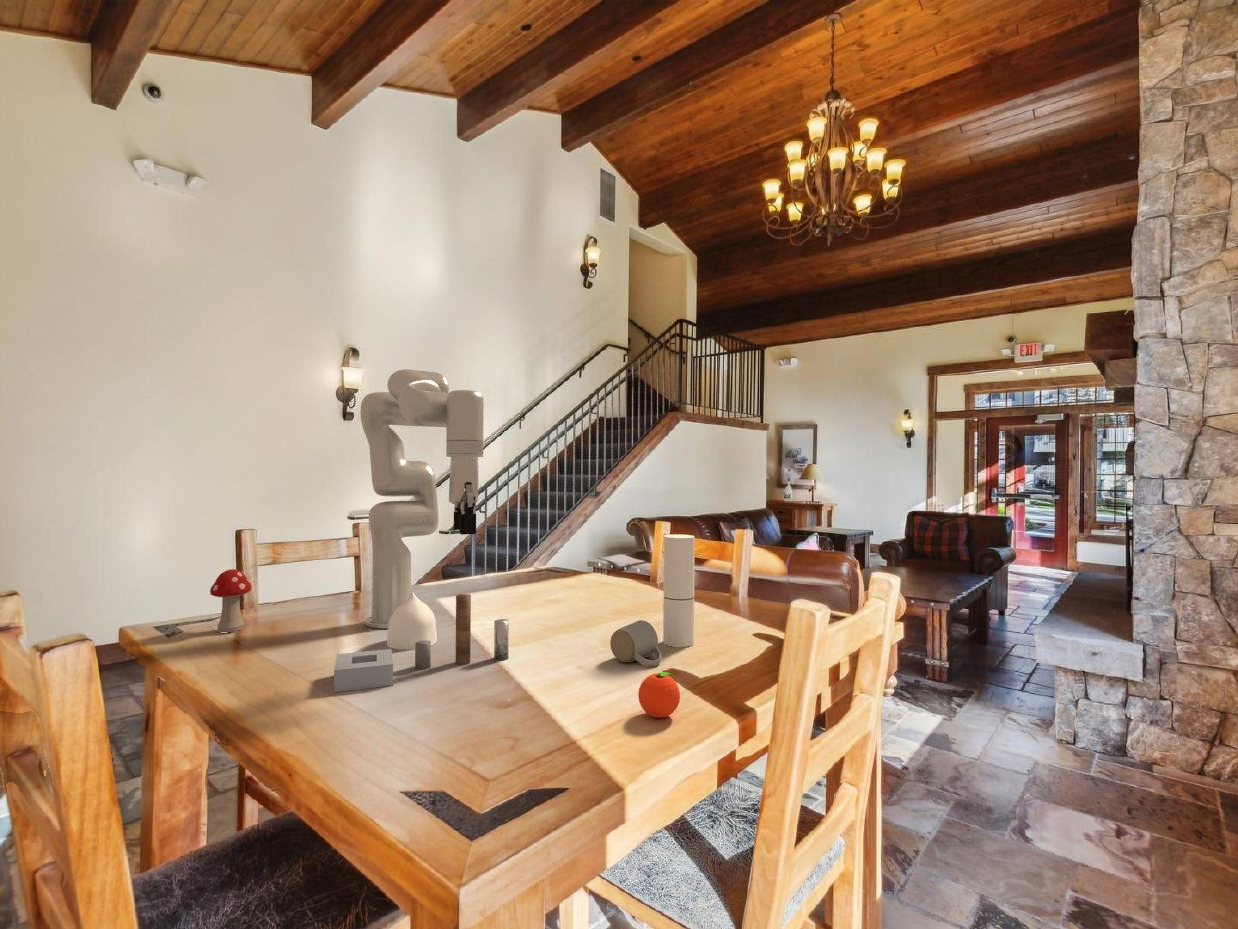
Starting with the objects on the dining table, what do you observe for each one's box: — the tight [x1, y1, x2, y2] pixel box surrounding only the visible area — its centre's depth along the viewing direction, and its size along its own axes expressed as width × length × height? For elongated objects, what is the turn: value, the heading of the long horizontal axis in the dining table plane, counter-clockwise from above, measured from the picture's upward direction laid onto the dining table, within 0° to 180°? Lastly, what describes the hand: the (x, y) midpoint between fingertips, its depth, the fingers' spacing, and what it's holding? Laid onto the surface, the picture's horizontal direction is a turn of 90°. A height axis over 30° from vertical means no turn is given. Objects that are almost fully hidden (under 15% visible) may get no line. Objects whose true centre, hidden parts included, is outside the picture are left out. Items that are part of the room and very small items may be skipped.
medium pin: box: [493, 618, 510, 661], centre depth 131 cm, size 3×3×8 cm
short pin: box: [414, 640, 432, 671], centre depth 125 cm, size 3×3×5 cm
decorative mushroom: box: [209, 568, 253, 633], centre depth 151 cm, size 10×9×15 cm
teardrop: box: [386, 590, 438, 650], centre depth 142 cm, size 11×11×12 cm
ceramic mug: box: [609, 619, 662, 668], centre depth 130 cm, size 11×8×8 cm
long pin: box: [454, 593, 472, 666], centre depth 128 cm, size 3×3×14 cm
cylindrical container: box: [662, 534, 696, 648], centre depth 144 cm, size 7×7×25 cm
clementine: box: [637, 671, 681, 719], centre depth 102 cm, size 8×7×7 cm
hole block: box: [333, 648, 394, 693], centre depth 117 cm, size 10×10×4 cm
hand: (464, 531), depth 128 cm, fingers open, 9 cm apart
